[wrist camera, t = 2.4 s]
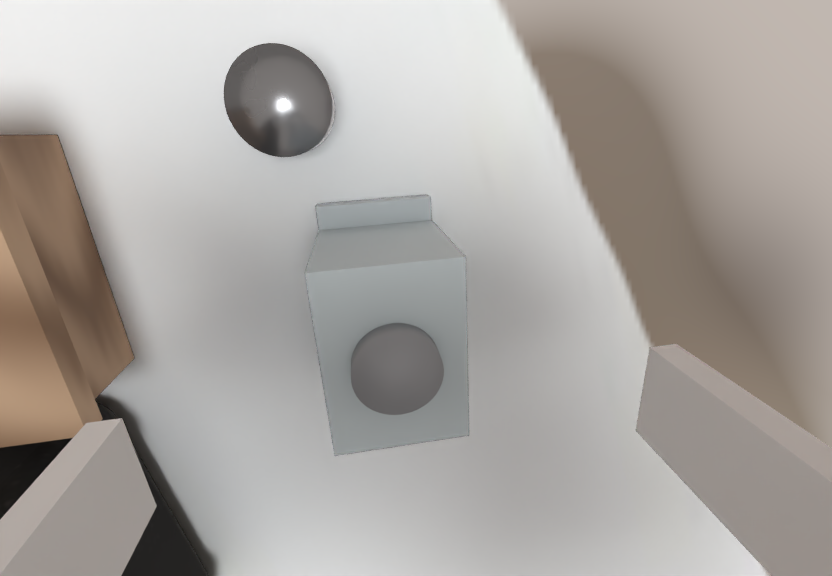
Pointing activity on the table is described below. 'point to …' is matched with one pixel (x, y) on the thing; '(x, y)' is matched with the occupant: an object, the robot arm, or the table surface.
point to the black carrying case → (162, 538)
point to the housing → (389, 324)
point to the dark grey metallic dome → (278, 100)
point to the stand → (50, 300)
